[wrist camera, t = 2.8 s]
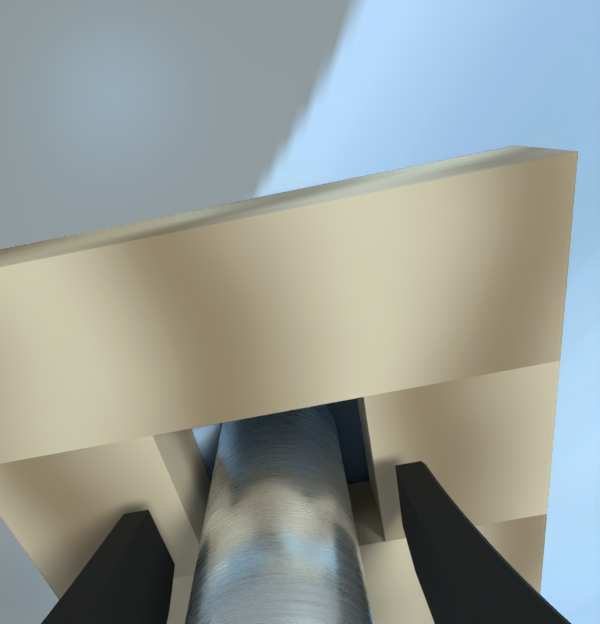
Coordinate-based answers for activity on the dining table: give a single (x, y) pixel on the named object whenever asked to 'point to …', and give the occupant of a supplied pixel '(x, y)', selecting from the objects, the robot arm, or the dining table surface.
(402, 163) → the dining table surface
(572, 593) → the dining table surface
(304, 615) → the steel pin
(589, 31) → the dining table surface
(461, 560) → the robot arm
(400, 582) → the hitch block
